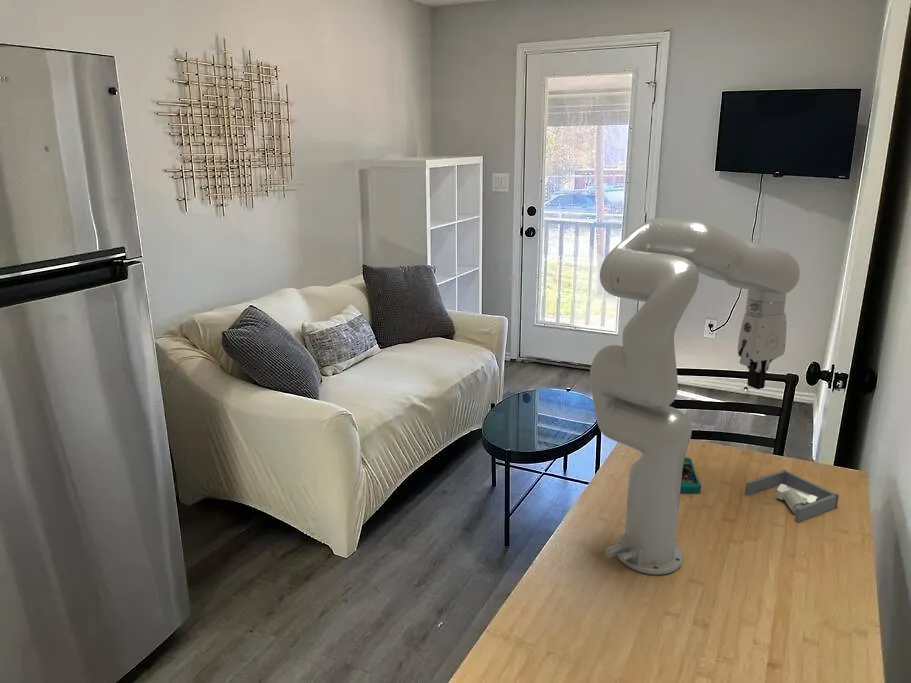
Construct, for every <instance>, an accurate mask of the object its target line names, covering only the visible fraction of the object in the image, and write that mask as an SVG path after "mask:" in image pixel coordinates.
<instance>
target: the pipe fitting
mask: <svg viewBox="0 0 911 683" xmlns="http://www.w3.org/2000/svg"><path fill="white" fill-rule="evenodd" d="M775 497H776V499H778V500H781V501H785V502H786V505H787V506H788V507H789V509H790V510H791V512H792V513H793V514H794V515H796V508H798V507H801V506H804V505H806V504H809V503H812V502H814V501H817V500H820V498H819V497H817V496H814V495H810V494H808V493H805V492H802V491H800V490H797V489H794V488H792V487H790V486H788V485H786V484H784V483H783V484H780V485H778V487H777V490H776V493H775Z"/></svg>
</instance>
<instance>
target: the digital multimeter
mask: <svg viewBox="0 0 911 683" xmlns="http://www.w3.org/2000/svg"><path fill="white" fill-rule="evenodd" d="M698 478H699V477H698V476H697V473H696V470H695V467H694V464H693V459H692V458H690V457H686V456H685V459H684V464H683V470H682V478H681V489H680V494H693V495H695V494H700V493H701V491H702V485H701V483H700V480H699V479H698Z"/></svg>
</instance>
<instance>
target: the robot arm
mask: <svg viewBox="0 0 911 683" xmlns="http://www.w3.org/2000/svg"><path fill="white" fill-rule="evenodd" d="M700 274H702V275H703V276H706V277H709V278H712V279H715V280H719V281H722V282H723V281H724V282H725V283H726V284H727V285H728V286H731V287H733V288H738V289H744V290H747V294H746V296H747V297H746V304H745V313H744V315H743V319H742V322H741V328H740V329H739V330H740V331H739V337H738V343H737V344H738V345H737V355H738V357H740V360H739V364H740V365H742V366H745V367H746V368H747V370H748V376H747V386H748V387H750V388H753V389H755V390H761V389H764V388H765V384H766V377H767V371H768V370H769V369H770V368H769V367H770V364H771V363H772V362H773V361H775V360H776V359H778V358H780V357H783V355H784V354H785V351H786V346H787V345H786V344H787V343H786V342H787V316H786V315H787V314H786V312H785V307H786V300H787V299H786V298H787V294H788V293H790V292H791V291H793V290H794V289H795V287H796V286H797V285H798V283H799V279H800V275H801V273H800V266H799V263H798V261H797V259H796V258H795V257H794V256H793V255H791V254H790V252H788V251H787V250H785V249H779V248H774V247H770V246H769V245H764V244H761V243H757V242H755V241H751V240H748V239H745V238H741V237H737V236H734V235H732V234H730V233H727V232H726V231H724V230H722V229H720V228H718V227H716V226H715V225H713V224H711V223H708V222H705V221H703V220H697V219H688V218H687V219H686V218H675V217H672V218H671V217H661V216H660V217H659V216H658V217H654V218H651V219H649V220H647V221H645V222H644V223H642V224H641V225H639V226H638V227H637V228H635V230H633V231H631V233H629V234H628V235H627V236H626V237H625V238H624V239H623V240H622V241H620V242H619V243H618V244H617V245H616V246H614V248H612V250H611V251H609V253H608V254H607V255H606V257H605V258H604V260H603V262H602V264H601V267H600V270H599V281H600V284H601V285H600V286H602V288H603V289H604V291H605V292H607V293H608V294H609V295H611V296H614V297H617V298H621V299H628V300H633V301H638V302H644V304H643V305H642V306H641V307H640V309H638V311H637V312H636V313H635V314H634V315H633V316H632V317H631V318H630V319H629V320H628V321H627V323H626V325H625V326H624V327H623V328H624V329H623V331H622V345H619V344H609V345H606V346H604V347H602V348H601V349H600V350H599V351H598V352H597V353H596V354H595V355H594V358H593V360H592V362H591V366H590V370H589V382H590V383H589V384H590V389H591V396H592V402H593V406H594V407H593V408H594V412H595V418H596V422H597V426H598V428H599V430H600V432H601V433H602V435H604V437H606V438H608V439H609V440H612V441H615V442H617V443H620V444H622V445H625V446H627V447H629V448H633V449H635V450H637V451H639V452H640V453H641V457H640V458H638V459H637V460H636V461H635V462H633V464H632V465H631V467H630V469H629V471H628V472H629V473H628V480H627V481H628V482H627V483H628V484H627V485H628V486H627V487H628V488H627V497H626V498H627V500H626V514H625V530H624V533H623V534H620V538H619V539H618V541H617V542H616V544H615V545H614V544H613V545H611V546H607V547H605V549H604V553H605V556H606V557H607V558H609V559H610V558H613V557H615V556H616V557H617V558H618V560H620V562H621V563H622V564H624V565H625V566H626V567H628V568H629V569H632V570H634V571H637V572H638V573H642V574H649V575H666V574H670V573H673V572H676V571H677V570H679V568H681V566H682V564H683V559H684V555H683V552H682V549H681V548H680V547H679V546H678V545H677V541H676V540H677V534H678V532H677V531H678V520H679V512H680V511H679V509H680V496H681V493H680V489H681V478H682V470H683V464H684V459H685V457H686V455H687V452H688V451H687V450H688V448H689V444H690V441H691V437H692V432H693V426H692V422H691V420H690V418H689V417H688V416H687V415H686V414H685V413H684V412H683V411H682V410H679V409H677V408H675V407H673V406H671V405H672V404H673V402H674V401H675V400H676V397H677V394H678V391H679V390H678V389H679V386H678V382H679V381H678V370H677V360H676V351H675V349H676V348H675V333H676V329H677V326H678V324H679V322H680V320H681V318H682V317H683V315H684V313H685V311H686V310H687V308H688V306H689V304H690V302H691V301H692V300H693V297H694V295H695V293H696V291H697V288H698V285H699V278H700V277H699V276H700Z"/></svg>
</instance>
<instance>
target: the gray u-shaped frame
mask: <svg viewBox="0 0 911 683" xmlns="http://www.w3.org/2000/svg"><path fill="white" fill-rule="evenodd" d="M780 484H784V485H787V486H790V487H792V488H794V489H797V490H800V491H802V492H805V493H808V494H810V495H814V496H817V497H819V498H820V500H817V501H814V502H812V503H809V504H806V505H804V506H801V507H798V508H796V514H794V521H795V522H796V523H800V522H803V521H805V520H808V519H811V518H813V517H816V516H818V515H820V514H823V513H827V512H829V511H831V510H833V509H836V508H838V502H839V498H840V497H839V496H840V494H837V493H835V492H833V491H831V490H829V489H826V488H824V487H822V486H821V485H819V484H816V483H814V482H812V481H810V480H808V479H806V478H803V477H802V476H799V475H797V474H795V473H792V472H790V471H788V470H786V469H782V470H779V471H777V472H773V473H771V474H768V475H763V476H761V477H759V478H758V477H757V478H755V479H752V480H749V481H746V483H745V490H744V491H745V492H744V494H745V495H746V496H750V495H753V494H757V493H759V492H763V491H765V490H767V489H771V488H774V487H777V486H779V485H780Z"/></svg>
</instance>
